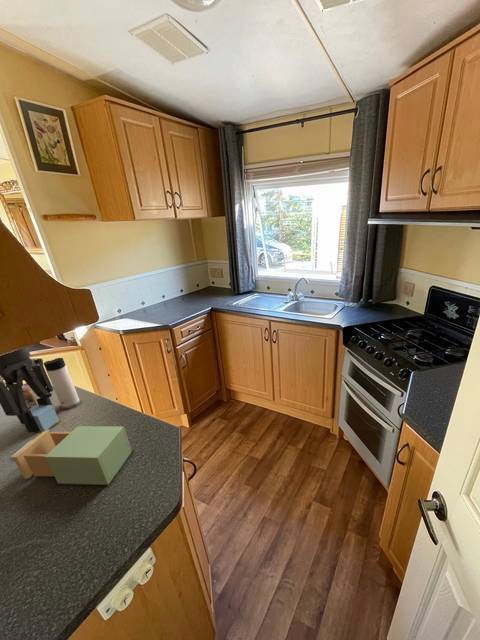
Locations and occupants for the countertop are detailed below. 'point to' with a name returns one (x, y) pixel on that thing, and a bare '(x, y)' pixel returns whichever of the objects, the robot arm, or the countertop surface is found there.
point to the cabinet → (89, 455)
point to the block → (44, 416)
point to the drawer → (37, 454)
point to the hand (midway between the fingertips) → (42, 424)
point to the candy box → (30, 397)
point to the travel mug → (62, 383)
